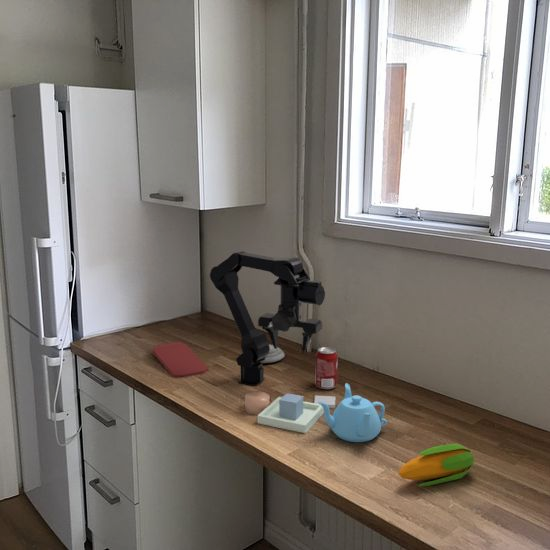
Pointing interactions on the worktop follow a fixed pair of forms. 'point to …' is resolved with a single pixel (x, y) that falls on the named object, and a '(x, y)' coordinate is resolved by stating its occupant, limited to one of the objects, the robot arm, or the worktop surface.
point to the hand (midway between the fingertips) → (289, 350)
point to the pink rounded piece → (256, 402)
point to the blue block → (291, 406)
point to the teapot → (355, 418)
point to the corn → (439, 464)
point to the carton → (179, 359)
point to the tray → (300, 425)
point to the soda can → (326, 368)
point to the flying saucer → (274, 355)
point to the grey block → (326, 400)
